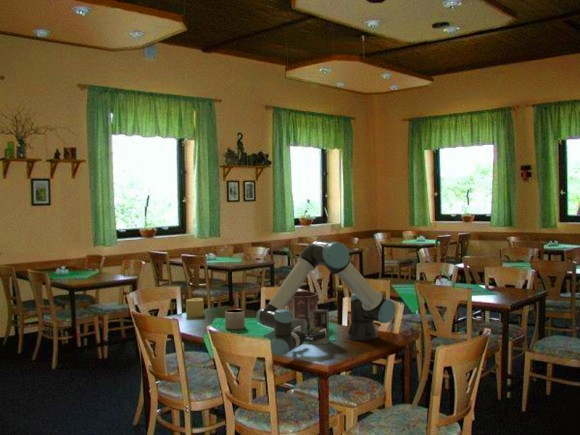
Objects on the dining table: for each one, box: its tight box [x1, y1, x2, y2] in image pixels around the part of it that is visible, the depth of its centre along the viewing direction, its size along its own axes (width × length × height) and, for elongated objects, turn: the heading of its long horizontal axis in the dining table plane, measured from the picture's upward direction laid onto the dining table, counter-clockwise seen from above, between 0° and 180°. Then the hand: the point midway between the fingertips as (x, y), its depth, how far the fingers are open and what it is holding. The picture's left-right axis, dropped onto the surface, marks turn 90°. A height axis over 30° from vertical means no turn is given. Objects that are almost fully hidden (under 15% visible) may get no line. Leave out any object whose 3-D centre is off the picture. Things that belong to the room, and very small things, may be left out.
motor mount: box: [263, 314, 308, 342], centre depth 313 cm, size 19×24×12 cm
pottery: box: [286, 290, 319, 329], centre depth 343 cm, size 18×18×18 cm
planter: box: [224, 308, 246, 331], centre depth 341 cm, size 11×11×10 cm
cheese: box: [185, 297, 205, 318], centre depth 375 cm, size 10×11×10 cm
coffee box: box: [309, 308, 330, 345], centre depth 306 cm, size 9×6×16 cm
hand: (312, 329), depth 300 cm, fingers open, 13 cm apart
